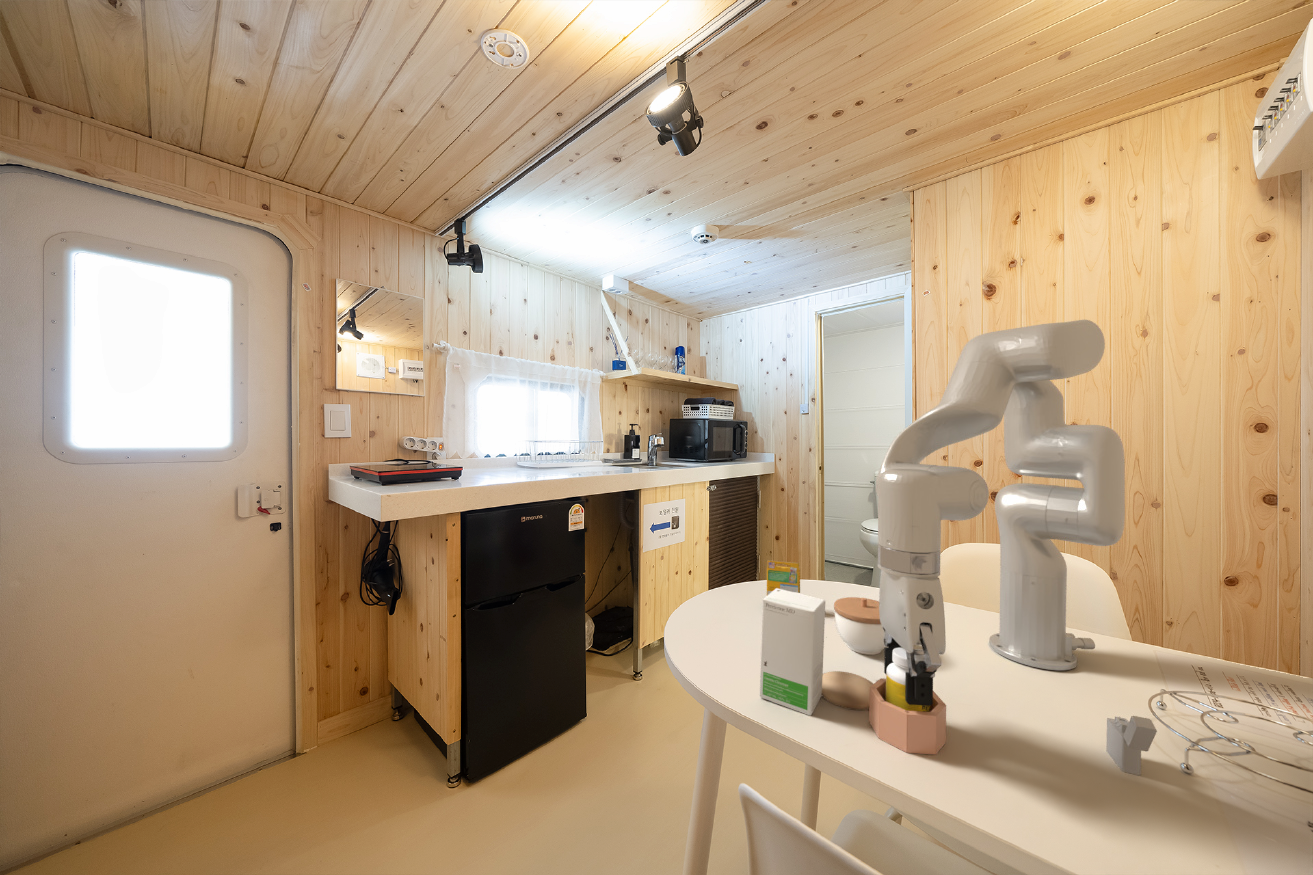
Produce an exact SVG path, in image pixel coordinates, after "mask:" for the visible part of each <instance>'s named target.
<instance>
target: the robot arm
mask: <svg viewBox="0 0 1313 875" xmlns="http://www.w3.org/2000/svg"><path fill="white" fill-rule="evenodd" d="M1105 345H1106V341H1105V337H1104V333H1103V331H1102V329H1101V328H1100V326H1099V325H1098V324H1096V322H1094V321H1092V320H1090V319H1078V320H1071V321H1064V322H1062V321H1061V322H1050V323H1043V324H1042V323H1041V324H1035V325H1028V326H1022V327H1015V328H1009V329H1004V330H1003V329H1001V330H995V331H989V332H986V333H982V334H979V335H976V336H975V337H973V338H971V339H970V340H969V341H967V342H966V343H965V345H964V346H963V348H962V350H961V352H960V355H959V357H958V359H957V360H956V364H955V366H954V368H953V371H952V373H951V375H950V378H949V381H948V383H947V385H946V388H945V390H944V392H943V394H942V397H941V399H940V401H939V403H938V404H937V405H936V406H934V407H933V408H932V409H930V410H928V411H927V412H925V413H923V414H922V415H921V416H919V417H918V418H917V419H916V420H914V421H912V423H910V424H909V425H908V426H907V427H904V429H903V430H902V431H901V432H899V433H898V434H897V436H896V437H894V439H893V440H892V442H891V443H890V445H889V447H888V449H887V451H886V453H885V456H884V458H883V460H882V463H881V466H880V467H879V470H878V474H877V477H876V483H875V490H876V494H877V503H878V504H877V505H878V507H877V517H878V518H877V568H878V569H880V570H881V571H880V579H879V581H880V582H879V594H878V598H879V600H878V601H879V616H880V622H881V624H882V626H883V630H884V632H885V635H884V645H885V646H886V647H884V649H883V650H884V655H883V656H884V659H883V660H884V661H883V663H884V664H883V666H884V667H883V668H884V671H883V673H884V674H885V675H886V670H887V667H888V665H889V664H891V663H894V662H893V661H892V652H893V649H895V648H903V649H904V650H906V655H907V662H908V669H909V672H906V675H905V700H906V702H907V703H908V704H909V705H926V706H931V705H932V704H933V691H934V678H935V677H936V672H937V670H938V669H939V668H940V667H941V666H942V663H943V662H942V659H941V656H940V655H944V654H945V653H946V650H947V648H946V647H947V645H946V643H947V642H946V639H947V638H946V617H945V604H944V597H943V589H942V588H943V587H942V584H941V579H940V576H941V544H942V542H941V540H942V539H941V537H942V536H941V535H942V534H941V533H942V530H941V529H942V526H941V525H942V521H943V520H944V521H967V520H971V519H974V518H976V517H978V516H979V515H980V514H981V513H982V512H983V511H984V509H985V508H986V506H987V505H988V501H989V496H990V492H989V487H988V484H987V482H986V480H985V478H984V477H983V476H982V475H980V473H978V472H977V471H975V470H973V469H970V468H966V467H961V466H951V465H936V464H926V463H925V464H924V463H921V462H922V461H923V460H924V459H925V458H927V457H928V456H930V455H931V454H933V453H935V452H936V451H938V450H941V449H942V448H944V447H945V448H946V447H947V446H951V445H954V444H957V443H960V442H964V441H967V440H969V439H972V438H976V437H978V436H981V435H984V434H987V433H989V432H991V431H993V430H995V428H997V427H998V426H999V425H1000V424H1001V422H1002V420H1003V440H1004V441H1003V447H1004V448H1003V450H1004V451H1003V452H1004V459H1005V464H1006V467H1007V469H1008V470H1010V471H1011V472H1012V473H1014V474H1016V475H1020V476H1026V477H1032V478H1033V477H1035V478H1047V479H1059V480H1060V479H1061V480H1074V481H1079V482H1080V483H1081V484H1082V486H1083V487H1076V486H1075V487H1073V486H1064V485H1063V486H1062V485H1057V484H1056V485H1054V484H1042V483H1026V482H1022V483H1012V484H1008V485H1006V486H1004V487H1002V488H1001V489H999V491H998V492H997V494H996V496H995V499H994V512H995V517H996V520H997V521H996V522H997V526H998V533H999V534H998V535H999V545H1000V548H999V550H1000V553H999V554H1000V559H999V561H1000V563H999V566H1000V569H999V572H1000V573H999V577H1000V578H999V580H1000V581H999V584H1000V585H999V632H998V633H994V634H992V635H990V636H989V638H988V640H989V642H988V644H989V647H991V649H992V650H993V651H994V652H995V653H997V654H998V655H1000V656H1002V657H1005V659H1006V658H1007V659H1009V660H1011V661H1013V662H1016V663H1019V664H1021V665H1026V666H1029V667H1033V668H1037V669H1041V670H1042V669H1043V670H1047V671H1049V670H1050V671H1069V670H1072V669H1074V668H1075V669H1076V667H1077V665H1078V658H1077V656H1076V655H1075V653H1073V651H1076V650H1077V649H1081V650H1095V648H1096V644H1095V641H1094V640H1093V639H1092V638H1090V637H1076V636H1075V635H1074V634H1073V633H1071V632H1067V630H1066V629H1067V627H1066V626H1067V582H1068V581H1067V576H1068V574H1067V573H1068V570H1067V569H1068V567H1067V562H1066V560H1065V557H1064V555H1063V554H1062V553H1061V551H1060V549H1059V548H1058V547H1057V546H1056V544H1055V543H1054V541H1052V540H1058V541H1065V542H1070V543H1075V544H1083V545H1089V546H1096V547H1097V546H1098V547H1109V546H1113V545H1116V544H1117V543H1118V542H1119V541H1120V540H1121V538H1122V536H1123V533H1124V529H1125V521H1126V510H1125V509H1126V499H1125V498H1126V496H1125V495H1126V488H1125V487H1126V486H1125V485H1126V483H1125V482H1126V480H1125V479H1126V475H1125V472H1126V471H1125V466H1126V464H1125V463H1126V461H1125V450H1124V445H1123V444H1124V443H1123V441H1122V439H1121V437H1120V435H1119V433H1117V432H1116V431H1115V430H1114V429H1112V428H1110V427H1109V426H1105V425H1099V424H1067V423H1066V422H1065V411H1064V410H1065V408H1064V404H1065V401H1064V396H1063V394H1062V392H1061V391H1060V389H1059V388H1058V387H1057V386H1056V385H1055V384H1054V382H1052V381H1055V380H1063V379H1069V378H1073V377H1077V376H1080V375H1083V374H1087V373H1088V372H1091V371H1093V370H1094V369H1095V368H1096V367H1097V366H1098V364H1099V363H1100V362H1101V360H1102V358H1103V356H1104V353H1105V348H1106V346H1105ZM914 646H921V648H922V649H919V648H918V649H914ZM914 655H924V659H923V661H919V662H918V663H917V664H916V663H915V657H914Z"/></svg>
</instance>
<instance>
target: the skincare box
mask: <svg viewBox="0 0 1313 875" xmlns="http://www.w3.org/2000/svg"><path fill="white" fill-rule="evenodd" d="M825 616H826V599H824V598H823V599H822V598H819V597H816V596H815V597H814V596H810V595H806V594H804V593H801V592H800V593H797V592H790V591H786V590H782V589H778V588H776V589H775V590H773V591H772V592H771V593H770V594H769V595H768V596H767V595H766V596H765V597H764V598H763V599H762V619H761V622H762V623H761V646H760V647H761V648H760V651H761V652H760V673H759V674H760V675H759V676H760V677H759V678H760V679H759V697H760V698H761V699H764V700H767V701H769V702H772V703H774V704H777V705H780V706H783V707H786V708H788V709H791V710H794V711H796V712H798V713H799V712H800V713H801V714H805V715H806V716H812V714H813V713H814V711H815V708H816V707H817V705H818V703H819V702H820V699H822V697H823V696H822V677H823V674H824V670H823V669H824V649H825V648H824V647H825V646H824V645H825V622H826V621H825V620H826V617H825Z"/></svg>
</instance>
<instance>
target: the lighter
mask: <svg viewBox="0 0 1313 875" xmlns="http://www.w3.org/2000/svg"><path fill="white" fill-rule="evenodd" d="M1157 732H1158V730H1157V728H1156V726H1155V724H1154V722H1153V721H1152V719H1150V718H1147V717H1142V716H1138V715H1132V716H1131V717H1130V719H1129V720H1128V719H1127V718H1124V717H1121V716H1114V718H1111V717H1110V718H1109V717H1107V718H1106V748H1105V749H1106V752H1107V754H1108V755H1109V757H1111V759H1112V760H1113V761H1114V763H1115V764H1116V765H1117V767H1118V768H1119V769H1120V771H1121V772H1124V773H1125V774H1126V773H1127V774H1131V775H1136V776H1138V777H1139V776H1141V772H1142V765H1141V764H1142V752H1149V750H1150V748H1151V746H1152V743H1153V741H1154V739H1155V736H1156V735H1157Z"/></svg>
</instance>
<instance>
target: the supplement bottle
mask: <svg viewBox="0 0 1313 875" xmlns="http://www.w3.org/2000/svg"><path fill="white" fill-rule="evenodd" d="M914 657H915V663H916V664H917V663H918V662H919V661H923V659H924V655H914ZM892 661H893V662H894V663H891V664H889V665H888V667H887V670H886V674H885V677H886V678H885V679H886V702H888V703H891V704H893V705H895V706H897V707H900V708H902V709H904V710H906V711H920V712H930V706H926V705H909V704H908V703H907V702H906V700H905V675H906V672H909V669H908V662H907V655H906V650H904V649H903V648H895V649H893V652H892Z"/></svg>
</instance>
